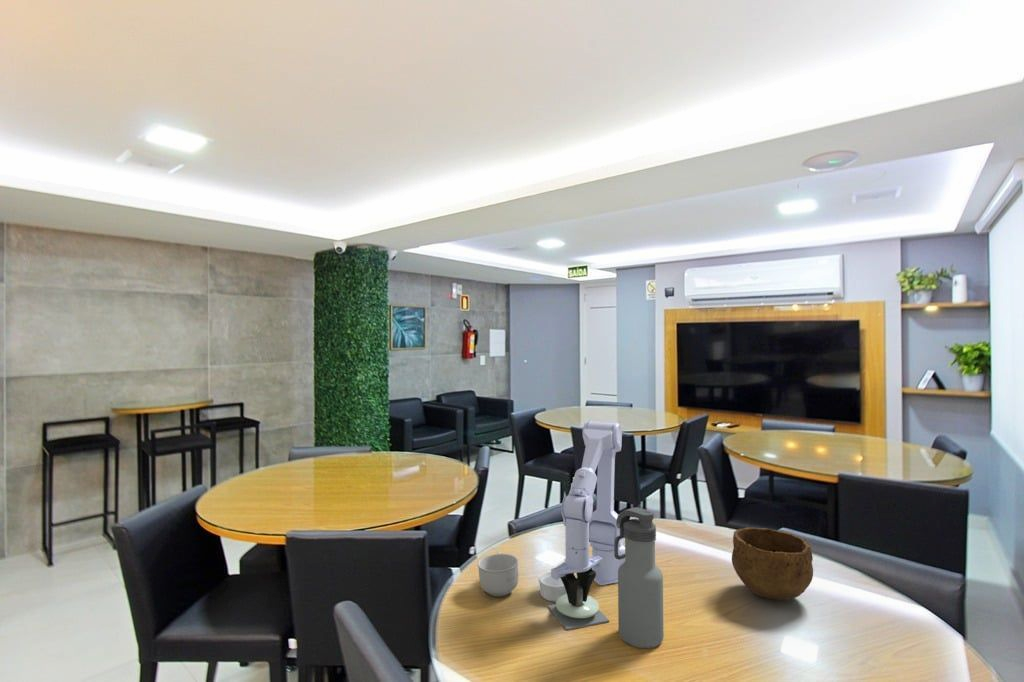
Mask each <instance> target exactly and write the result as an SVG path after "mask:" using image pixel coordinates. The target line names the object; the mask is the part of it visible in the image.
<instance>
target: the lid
mask: <svg viewBox="0 0 1024 682" xmlns="http://www.w3.org/2000/svg"><path fill="white" fill-rule="evenodd" d="M555 604H556V608H557V610H558V611H559V612H560V613H562V614H564V615H566V616H569V617H573V618H588V617H591V616H594V615H595V614H597V612H598V611H599V610H600V604H599V602H598V600H596V599H595V598H594V597H592V596H590V595H588V597H587V601H586V602H584V601H583V586H581V585H578V588H577V602H576V605H575V606H573V605H572V604H570V603H569V601H568V597H567V594H564V595H562V596H560V597H559V598H558V599H557V600H556V602H555Z"/></svg>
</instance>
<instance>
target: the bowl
mask: <svg viewBox="0 0 1024 682" xmlns="http://www.w3.org/2000/svg"><path fill="white" fill-rule="evenodd" d="M732 546H733V549H732V553H731V564H732V566H733V569H734V571H735V573H736V575H737V576H738V578H739V579H740V581H741V582H742V583H743V584H744V586H745V587H746V588H747V590H749V591H750V592H752V593H753V594H755V595H757V596H758V597H759V596H760V598H767V599H768V600H777V601H778V600H779V601H783V600H790V599H795V598H797V597H799V596H801V595H802V594H803V593H805V591H806V590H807V588H808V587H809V586H810V584H811V583H812V581H813V577H814V566H813V558H814V557H813V551H812V545H811V544H810V542H808V541H807V540H806V539H805V538H803V537H802V536H799V535H796V534H793V533H792V532H790V533H789V532H787V531H783V530H781V531H780V530H774V529H772V528H767V527H763V528H761V527H744V528H743V527H742V528H738V529H736V530H735V531H733V536H732Z"/></svg>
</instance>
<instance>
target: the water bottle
mask: <svg viewBox="0 0 1024 682" xmlns="http://www.w3.org/2000/svg"><path fill="white" fill-rule="evenodd" d="M631 517H633V518H631ZM654 519H655V513H654V512H653V511H652V510H648V509H645V508H641V507H631V508H627V509H624V510H622V511H621V512H620V513H619V514H618V517H617V522H616V525H617V528H620V536H617V537H616V538H615V541H614V556H615V558H616V559H618V560H620V559H623V558H625V562H624V563H622V564H621V565H620V567H619V569H618V582H617V603H618V604H617V605H618V607H617V610H618V616H617V617H618V620H617V621H618V622H617V623H618V634H619V637H620V638H621V640H622V641H623V642H625V643H627V644H628V645H630V646H633V647H635V648H639V649H641V648H642V649H650V648H655V647H658V646H659V645H661V644H662V642H663V641H664V636H665V635H664V632H665V631H664V630H665V629H664V577H663V571H662V570H661V569H660V567H658V565H657V564H656V540H657V526H656V524H655V523H653V521H654ZM622 538H624V547H625V554H623V555H620V556H619V555H618V542H619V540H620V539H622Z"/></svg>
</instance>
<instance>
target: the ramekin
mask: <svg viewBox="0 0 1024 682" xmlns="http://www.w3.org/2000/svg"><path fill="white" fill-rule="evenodd" d="M538 582H539V591H540V596H541V597H542V598H543V599H544V600H547V601H548V602H549V601H550V602H555V603H556V600H557V599H558V598H559V597H560V596H562V595H564V594H567V593H566V590H565V587H564V584H563V582H562V580H561V578H559V580H555V579H553V578H552V577H551V571H547V572H544V573H541V574H540V575H539V576H538Z"/></svg>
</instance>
